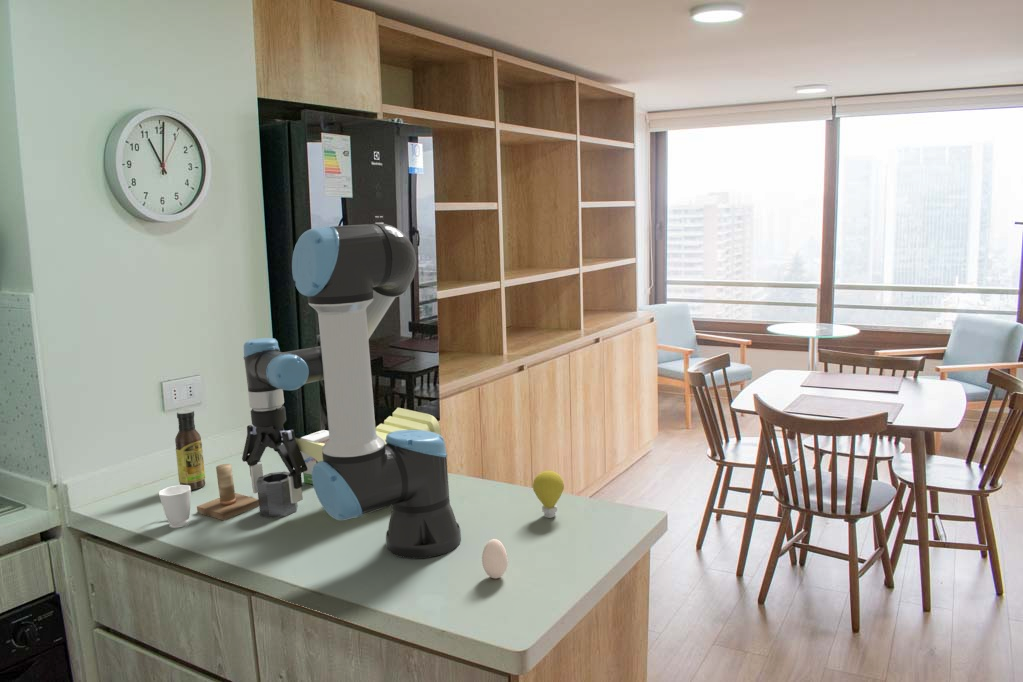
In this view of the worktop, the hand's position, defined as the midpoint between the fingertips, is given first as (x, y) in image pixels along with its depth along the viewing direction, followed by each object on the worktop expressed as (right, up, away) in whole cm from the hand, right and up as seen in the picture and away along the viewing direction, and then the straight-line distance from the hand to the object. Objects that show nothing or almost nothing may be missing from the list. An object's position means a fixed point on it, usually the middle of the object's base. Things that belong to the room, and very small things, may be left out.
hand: (277, 496), depth 184 cm
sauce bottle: (-27, -2, +20) cm, 34 cm away
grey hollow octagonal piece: (0, -3, +1) cm, 4 cm away
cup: (-22, -6, -3) cm, 23 cm away
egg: (+51, -8, -38) cm, 64 cm away
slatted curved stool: (+22, -2, +5) cm, 22 cm away
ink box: (+5, 0, +21) cm, 22 cm away
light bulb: (+62, -2, -11) cm, 63 cm away
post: (-12, -4, +4) cm, 13 cm away
